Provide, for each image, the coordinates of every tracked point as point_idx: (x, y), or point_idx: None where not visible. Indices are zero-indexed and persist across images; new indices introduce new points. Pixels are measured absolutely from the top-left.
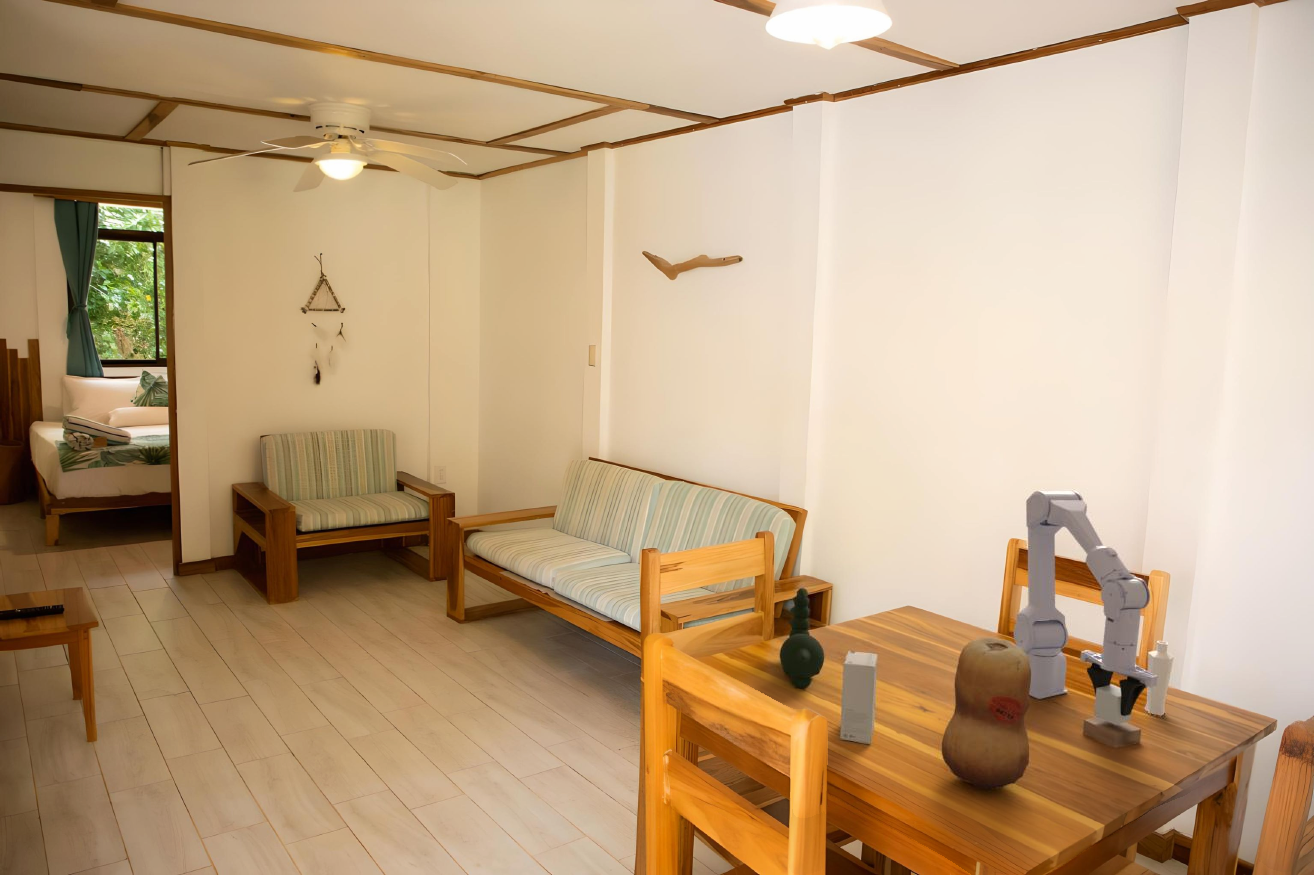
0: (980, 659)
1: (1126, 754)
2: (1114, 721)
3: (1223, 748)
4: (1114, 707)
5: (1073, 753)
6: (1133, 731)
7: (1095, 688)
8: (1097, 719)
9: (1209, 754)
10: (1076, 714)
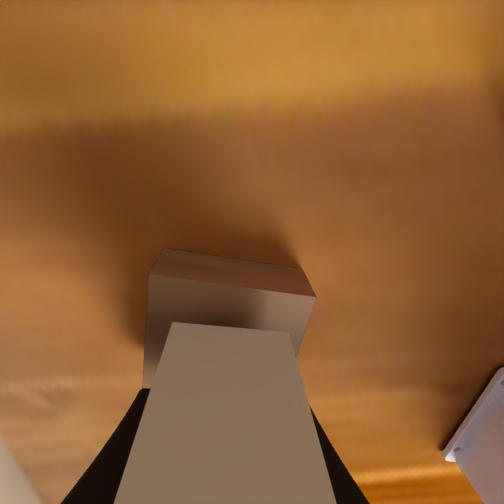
0: None
1: (108, 237)
2: (174, 332)
3: (37, 483)
4: (165, 398)
5: (221, 16)
6: (144, 363)
7: (350, 497)
8: None
9: (18, 437)
10: (374, 369)
